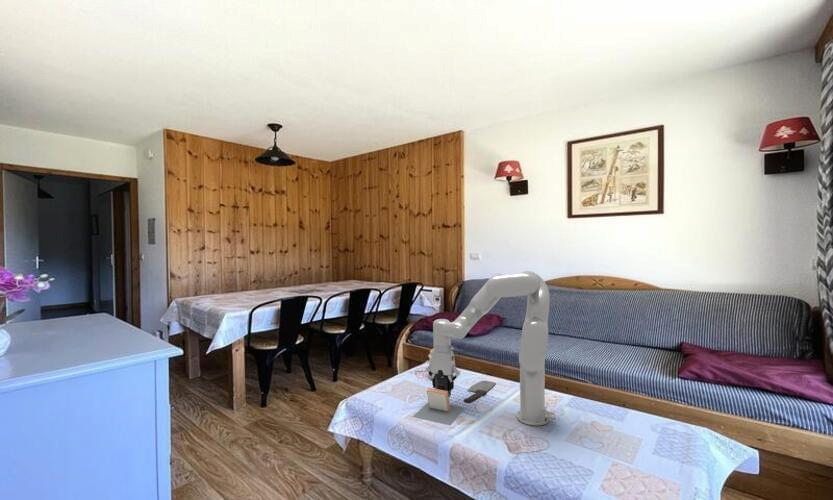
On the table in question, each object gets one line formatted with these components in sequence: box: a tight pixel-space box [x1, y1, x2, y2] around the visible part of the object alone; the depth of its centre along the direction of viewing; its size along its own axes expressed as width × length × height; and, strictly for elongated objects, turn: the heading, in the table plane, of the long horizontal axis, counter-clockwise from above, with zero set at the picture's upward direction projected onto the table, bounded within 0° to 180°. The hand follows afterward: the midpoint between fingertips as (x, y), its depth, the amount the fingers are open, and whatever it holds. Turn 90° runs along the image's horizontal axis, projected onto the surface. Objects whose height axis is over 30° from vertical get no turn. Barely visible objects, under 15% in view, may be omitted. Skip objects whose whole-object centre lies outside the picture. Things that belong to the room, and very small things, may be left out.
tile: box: [426, 387, 451, 412], centre depth 162 cm, size 9×2×9 cm, turn 63°
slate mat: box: [412, 401, 466, 426], centre depth 160 cm, size 17×17×1 cm
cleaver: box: [463, 380, 497, 404], centre depth 182 cm, size 29×10×2 cm, turn 148°
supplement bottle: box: [434, 370, 452, 398], centre depth 166 cm, size 7×7×12 cm
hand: (443, 388), depth 166 cm, fingers closed on supplement bottle, 6 cm apart
